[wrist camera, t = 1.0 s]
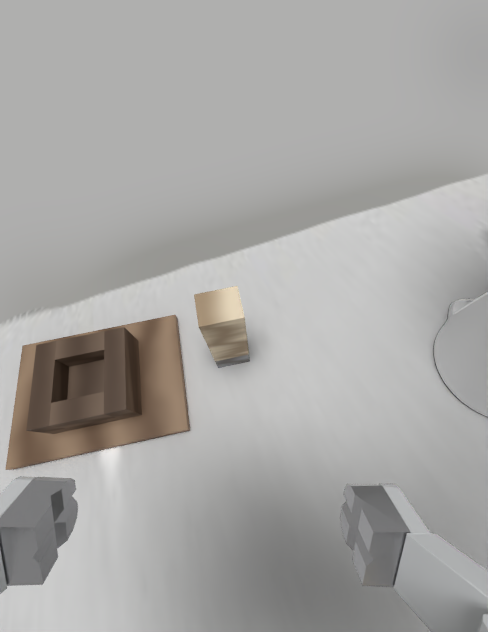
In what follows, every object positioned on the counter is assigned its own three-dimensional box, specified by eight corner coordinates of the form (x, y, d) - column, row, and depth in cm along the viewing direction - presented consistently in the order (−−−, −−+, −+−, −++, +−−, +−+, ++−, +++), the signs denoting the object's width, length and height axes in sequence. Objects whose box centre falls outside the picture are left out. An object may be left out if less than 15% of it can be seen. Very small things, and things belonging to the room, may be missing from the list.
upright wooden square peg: (244, 337, 42) (237, 285, 30) (249, 361, 41) (244, 317, 28) (214, 343, 42) (194, 294, 29) (218, 367, 40) (198, 327, 28)
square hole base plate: (177, 318, 44) (165, 298, 39) (189, 430, 37) (177, 425, 32) (28, 348, 43) (-5, 332, 38) (13, 469, 36) (-31, 471, 31)
